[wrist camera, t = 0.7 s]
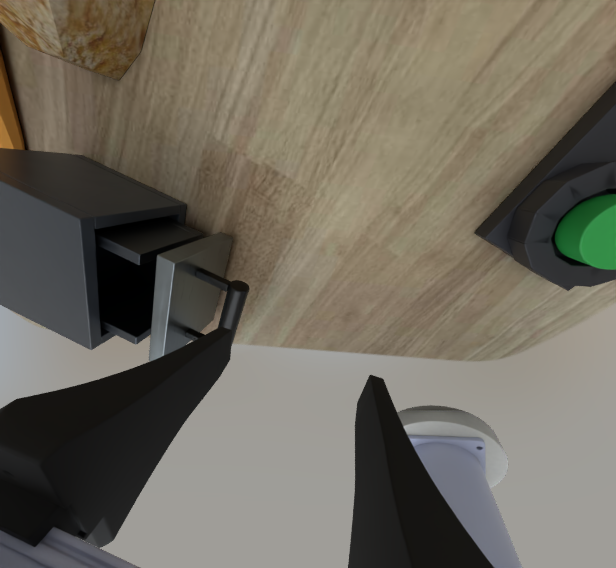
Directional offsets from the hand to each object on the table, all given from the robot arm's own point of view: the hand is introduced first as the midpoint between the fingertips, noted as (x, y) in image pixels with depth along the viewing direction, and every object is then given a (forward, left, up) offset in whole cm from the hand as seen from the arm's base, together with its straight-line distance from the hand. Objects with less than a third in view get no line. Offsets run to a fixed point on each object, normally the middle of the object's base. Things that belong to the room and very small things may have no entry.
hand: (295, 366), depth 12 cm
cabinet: (+9, +18, -10) cm, 22 cm away
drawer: (+4, +11, -9) cm, 15 cm away
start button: (+2, -16, -7) cm, 17 cm away
